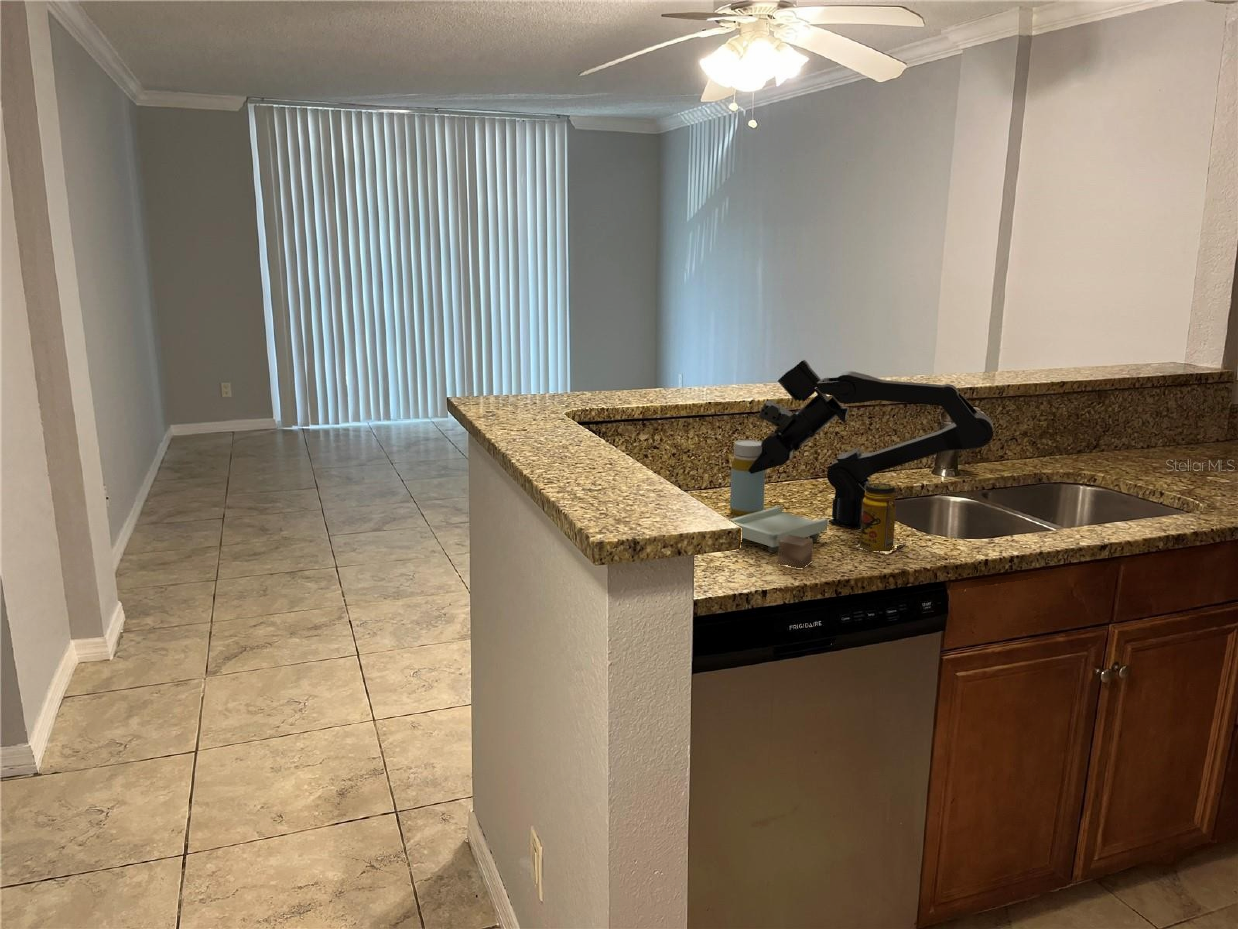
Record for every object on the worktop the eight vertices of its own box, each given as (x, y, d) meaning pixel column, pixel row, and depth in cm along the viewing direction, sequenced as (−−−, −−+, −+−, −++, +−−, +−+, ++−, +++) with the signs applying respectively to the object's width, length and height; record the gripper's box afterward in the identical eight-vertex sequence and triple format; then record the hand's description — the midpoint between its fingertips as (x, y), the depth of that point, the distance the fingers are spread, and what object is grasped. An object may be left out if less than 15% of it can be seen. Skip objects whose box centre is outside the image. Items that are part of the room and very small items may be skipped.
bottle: (762, 518, 191) (765, 447, 187) (728, 516, 192) (730, 445, 189) (764, 509, 198) (767, 440, 194) (731, 507, 199) (733, 438, 195)
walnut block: (811, 563, 164) (813, 539, 163) (801, 570, 161) (802, 545, 160) (788, 558, 167) (789, 534, 166) (777, 565, 163) (778, 541, 162)
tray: (826, 539, 178) (827, 519, 177) (772, 556, 167) (773, 535, 166) (777, 525, 186) (778, 505, 185) (723, 540, 176) (724, 520, 175)
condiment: (850, 548, 173) (854, 485, 170) (870, 537, 179) (875, 477, 176) (887, 556, 168) (892, 492, 165) (906, 545, 174) (911, 483, 172)
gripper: (792, 382, 195) (739, 430, 201) (775, 395, 178) (717, 446, 184) (828, 422, 194) (773, 468, 200) (813, 439, 177) (754, 489, 183)
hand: (754, 467), depth 192 cm, fingers open, 9 cm apart
